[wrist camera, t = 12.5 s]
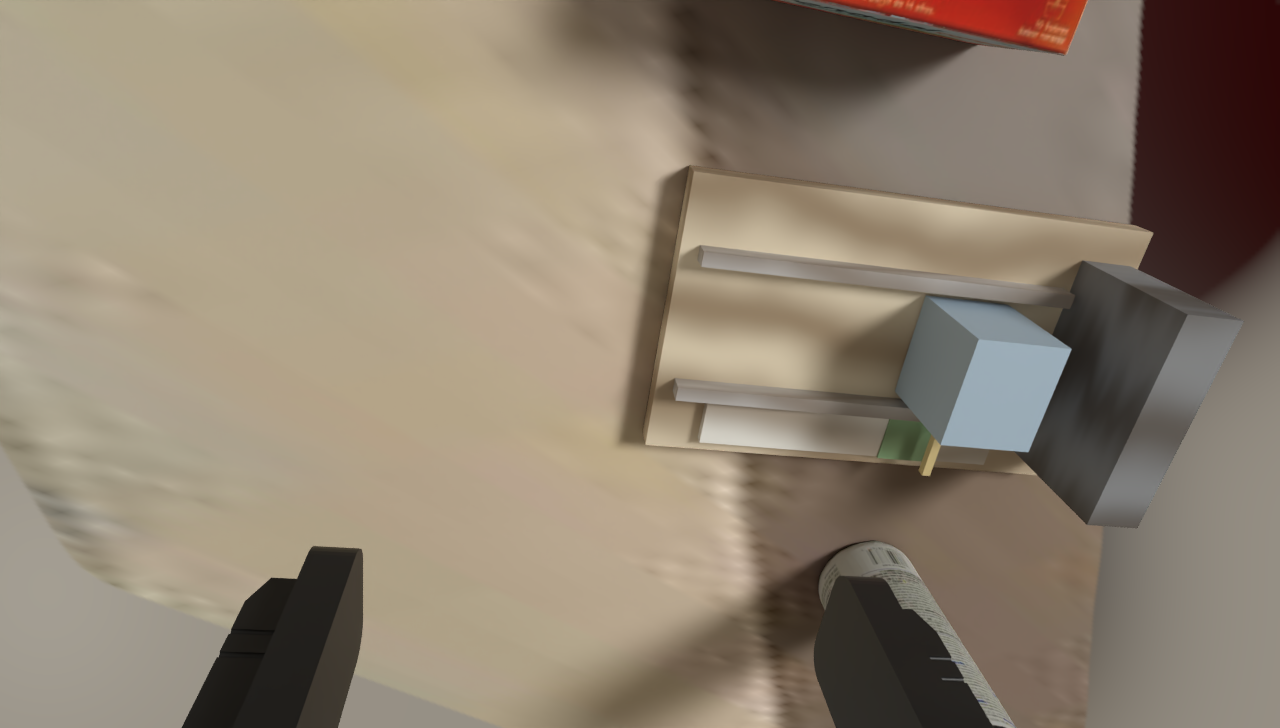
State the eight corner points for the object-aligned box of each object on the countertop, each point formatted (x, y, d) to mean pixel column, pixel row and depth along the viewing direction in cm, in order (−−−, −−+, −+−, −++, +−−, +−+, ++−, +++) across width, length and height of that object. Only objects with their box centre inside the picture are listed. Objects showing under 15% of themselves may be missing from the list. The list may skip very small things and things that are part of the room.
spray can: (797, 572, 53) (922, 871, 35) (882, 519, 52) (1057, 801, 34) (845, 627, 56) (983, 931, 38) (927, 578, 54) (1111, 868, 36)
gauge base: (689, 165, 40) (726, 212, 32) (1135, 225, 44) (1273, 282, 36) (642, 431, 47) (662, 530, 38) (1033, 462, 51) (1130, 558, 42)
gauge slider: (925, 295, 43) (979, 339, 38) (1032, 307, 44) (1098, 351, 39) (874, 454, 47) (915, 514, 42) (972, 462, 48) (1024, 522, 43)
